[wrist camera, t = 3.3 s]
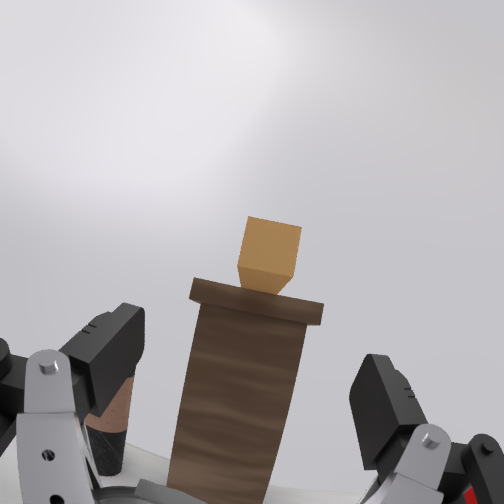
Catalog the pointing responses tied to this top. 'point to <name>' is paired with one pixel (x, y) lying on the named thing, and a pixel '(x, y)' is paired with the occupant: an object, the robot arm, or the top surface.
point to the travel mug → (111, 431)
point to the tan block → (268, 255)
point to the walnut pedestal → (237, 391)
